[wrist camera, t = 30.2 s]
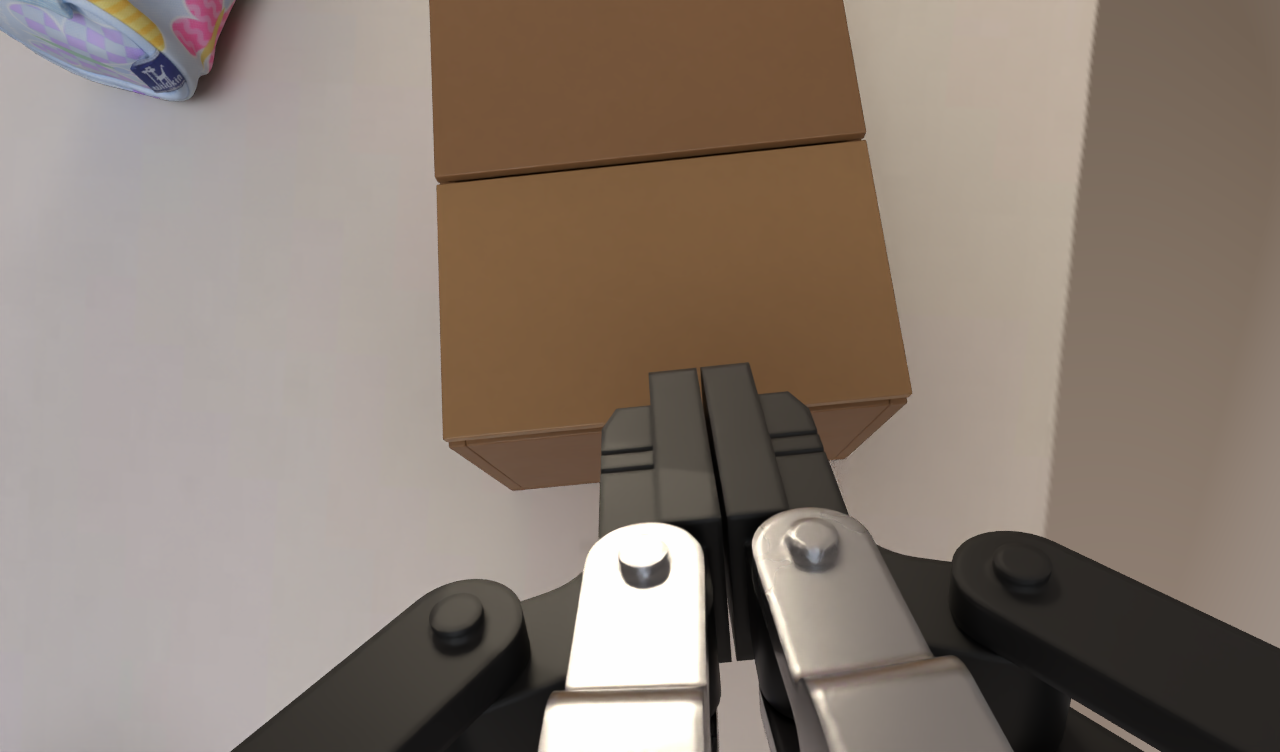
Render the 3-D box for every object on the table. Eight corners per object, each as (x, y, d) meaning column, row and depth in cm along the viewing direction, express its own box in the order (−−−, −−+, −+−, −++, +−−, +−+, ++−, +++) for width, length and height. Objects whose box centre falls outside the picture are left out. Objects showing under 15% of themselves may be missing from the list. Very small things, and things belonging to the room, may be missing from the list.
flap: (909, 397, 24) (913, 394, 24) (446, 442, 24) (442, 439, 24) (863, 146, 26) (866, 139, 26) (439, 190, 26) (436, 184, 26)
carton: (846, 458, 33) (915, 396, 24) (511, 490, 34) (441, 442, 24) (790, 94, 38) (828, -89, 28) (492, 126, 38) (425, -45, 28)
